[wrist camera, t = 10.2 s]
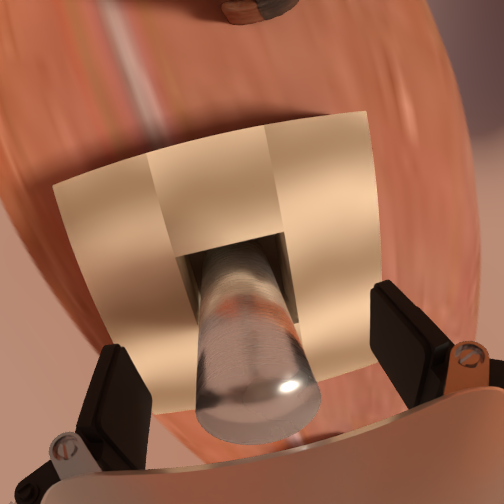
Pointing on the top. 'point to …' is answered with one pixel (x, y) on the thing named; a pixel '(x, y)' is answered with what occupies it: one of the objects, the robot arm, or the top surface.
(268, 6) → the pottery mug
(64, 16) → the top surface
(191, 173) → the bore block
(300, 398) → the pin
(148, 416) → the robot arm
